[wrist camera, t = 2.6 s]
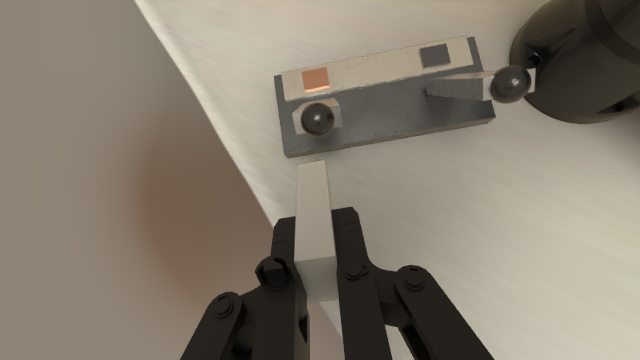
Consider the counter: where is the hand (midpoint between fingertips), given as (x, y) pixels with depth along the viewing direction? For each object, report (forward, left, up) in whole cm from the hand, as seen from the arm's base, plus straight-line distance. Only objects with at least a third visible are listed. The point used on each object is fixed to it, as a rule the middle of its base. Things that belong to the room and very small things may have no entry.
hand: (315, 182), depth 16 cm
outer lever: (-8, -8, -16) cm, 19 cm away
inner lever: (-18, +2, -16) cm, 24 cm away
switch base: (-13, -3, -18) cm, 22 cm away
